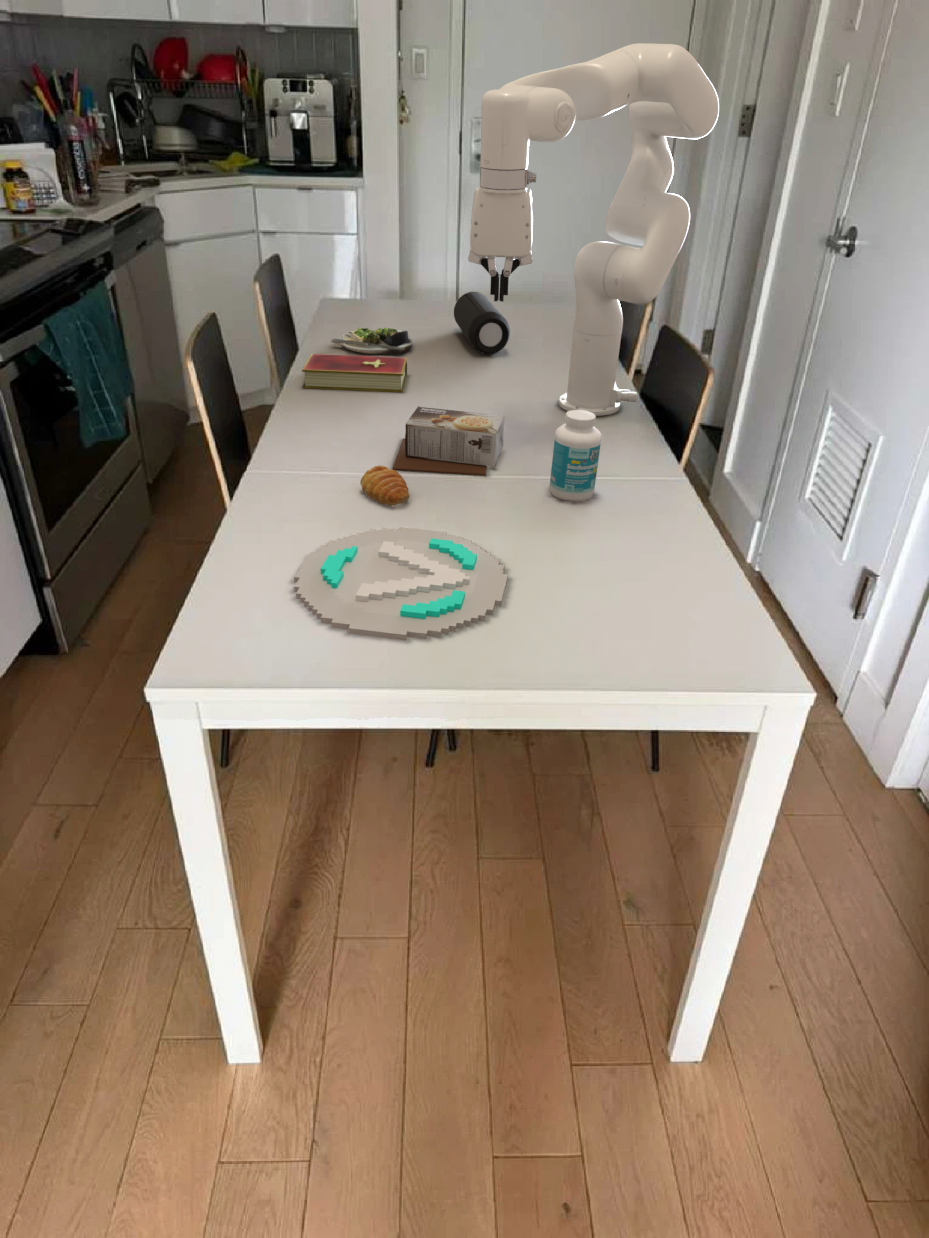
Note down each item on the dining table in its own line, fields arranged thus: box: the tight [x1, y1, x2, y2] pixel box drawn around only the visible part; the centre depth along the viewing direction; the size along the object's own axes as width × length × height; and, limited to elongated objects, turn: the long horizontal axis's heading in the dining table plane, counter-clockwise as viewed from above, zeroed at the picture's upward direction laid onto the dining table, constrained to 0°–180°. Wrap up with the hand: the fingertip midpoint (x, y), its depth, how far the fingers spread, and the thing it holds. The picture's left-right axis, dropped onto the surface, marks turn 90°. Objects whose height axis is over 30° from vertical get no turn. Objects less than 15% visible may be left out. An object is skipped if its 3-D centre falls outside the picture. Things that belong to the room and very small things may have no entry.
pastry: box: [360, 465, 410, 507], centre depth 141 cm, size 9×7×4 cm
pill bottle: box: [549, 410, 602, 502], centre depth 142 cm, size 8×7×14 cm
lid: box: [293, 526, 509, 641], centre depth 119 cm, size 28×28×2 cm
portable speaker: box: [453, 291, 511, 356], centre depth 217 cm, size 26×10×10 cm, turn 11°
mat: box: [391, 437, 488, 477], centre depth 157 cm, size 16×14×1 cm
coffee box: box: [404, 405, 506, 467], centre depth 156 cm, size 9×6×16 cm
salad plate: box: [330, 327, 413, 355], centre depth 212 cm, size 19×18×5 cm
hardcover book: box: [301, 353, 408, 393], centre depth 190 cm, size 12×21×4 cm, turn 89°
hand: (498, 299), depth 150 cm, fingers closed
